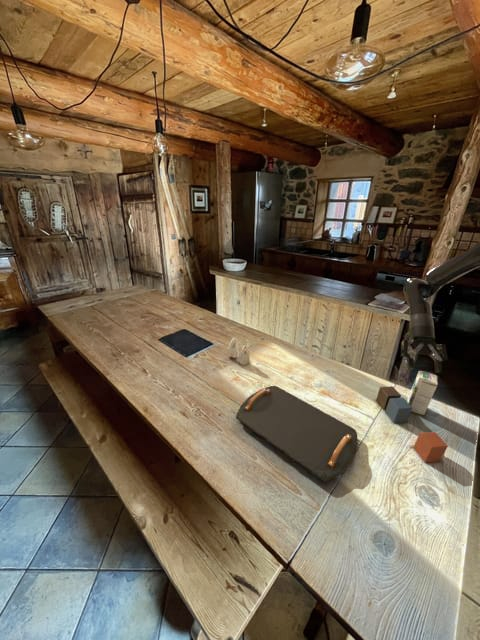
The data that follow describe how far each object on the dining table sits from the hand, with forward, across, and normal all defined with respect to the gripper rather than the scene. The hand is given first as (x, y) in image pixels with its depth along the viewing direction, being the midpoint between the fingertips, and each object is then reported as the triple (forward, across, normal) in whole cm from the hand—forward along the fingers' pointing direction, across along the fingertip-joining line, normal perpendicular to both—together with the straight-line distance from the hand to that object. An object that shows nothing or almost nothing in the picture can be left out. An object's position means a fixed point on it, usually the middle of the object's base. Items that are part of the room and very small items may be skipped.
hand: (424, 370), depth 94 cm
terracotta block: (+27, -4, -6) cm, 28 cm away
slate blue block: (+17, -9, +4) cm, 19 cm away
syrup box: (+13, 0, +9) cm, 15 cm away
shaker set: (+1, -71, +20) cm, 74 cm away
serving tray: (+26, -44, -5) cm, 52 cm away
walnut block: (+13, -10, +8) cm, 18 cm away
